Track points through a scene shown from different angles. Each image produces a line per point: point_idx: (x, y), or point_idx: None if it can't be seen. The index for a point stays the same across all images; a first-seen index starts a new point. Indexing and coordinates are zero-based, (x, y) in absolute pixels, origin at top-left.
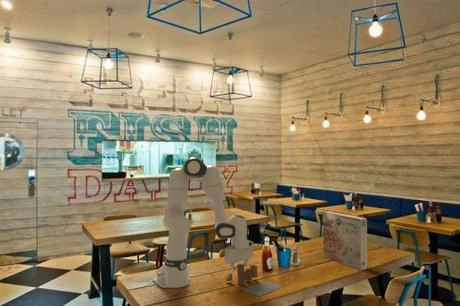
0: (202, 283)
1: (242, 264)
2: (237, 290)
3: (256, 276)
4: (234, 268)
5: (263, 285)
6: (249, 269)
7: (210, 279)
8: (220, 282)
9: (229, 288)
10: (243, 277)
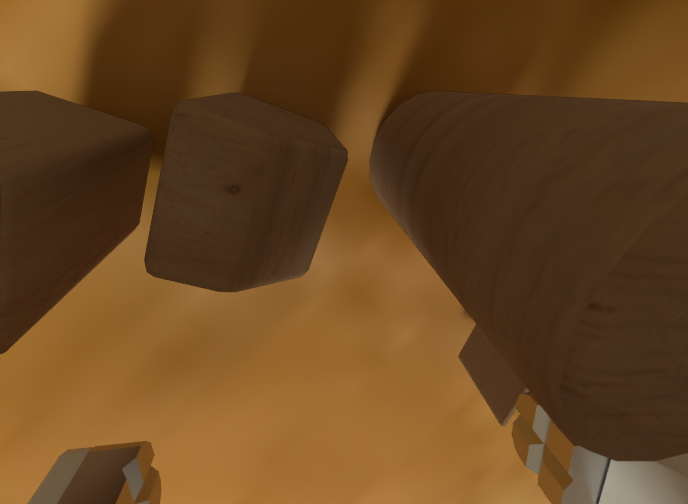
0: None
1: (635, 322)
2: (652, 11)
3: (55, 99)
4: None
5: None
6: (232, 150)
7: (525, 496)
8: None
9: None
10: (501, 94)
